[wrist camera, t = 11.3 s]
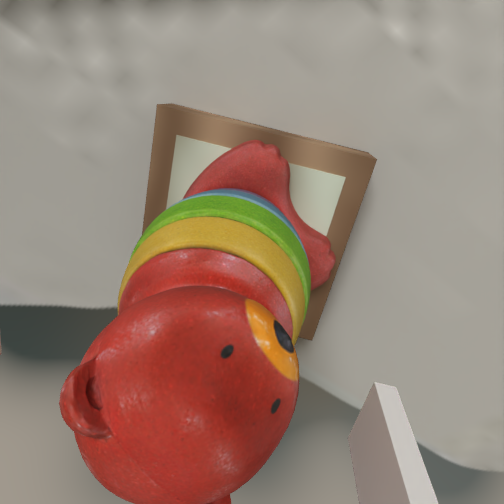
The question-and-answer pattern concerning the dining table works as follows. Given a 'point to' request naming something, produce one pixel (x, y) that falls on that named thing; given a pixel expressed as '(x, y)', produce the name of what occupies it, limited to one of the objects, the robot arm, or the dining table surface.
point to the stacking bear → (202, 339)
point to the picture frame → (301, 184)
